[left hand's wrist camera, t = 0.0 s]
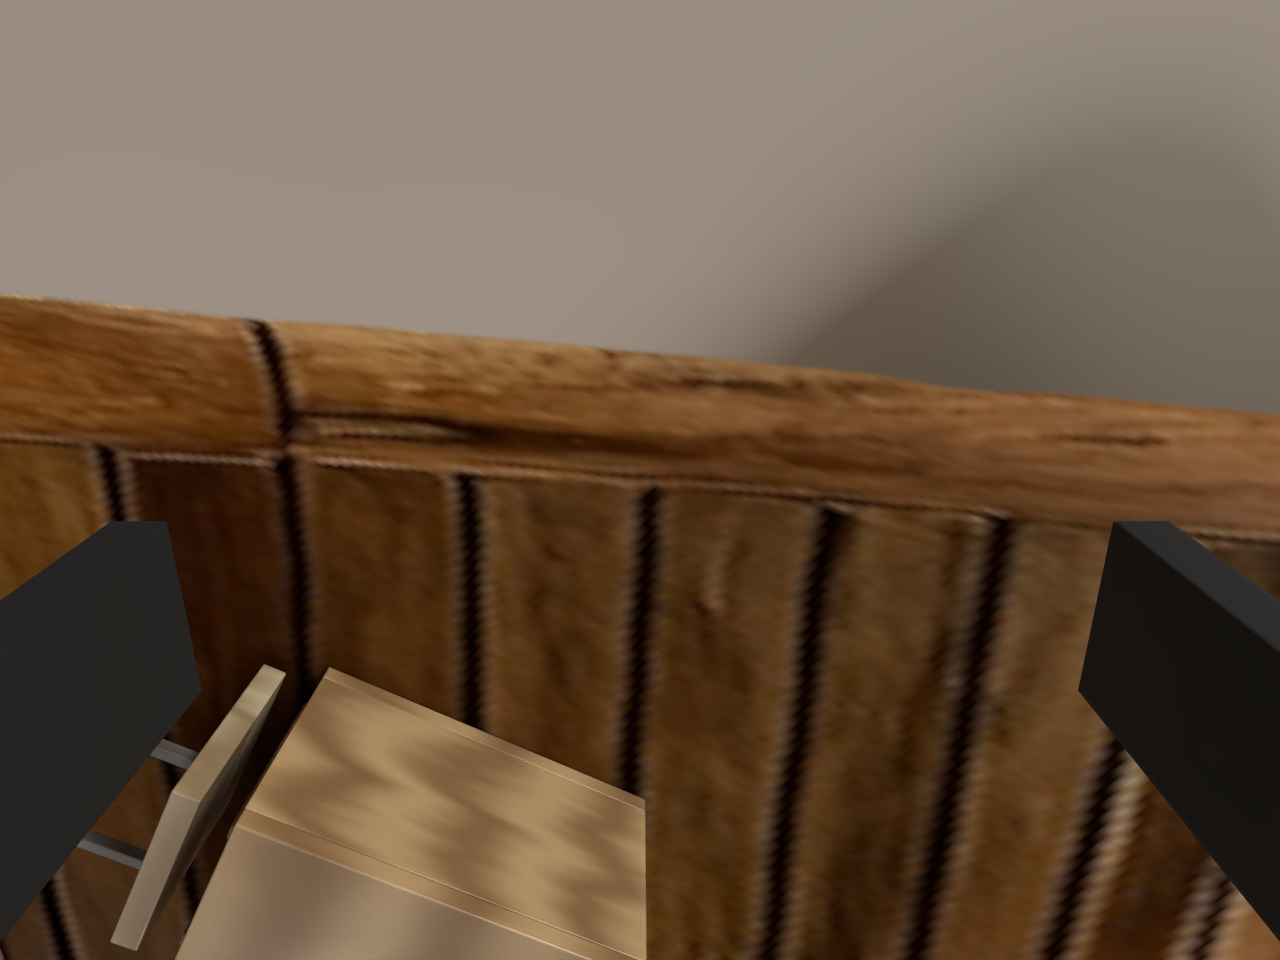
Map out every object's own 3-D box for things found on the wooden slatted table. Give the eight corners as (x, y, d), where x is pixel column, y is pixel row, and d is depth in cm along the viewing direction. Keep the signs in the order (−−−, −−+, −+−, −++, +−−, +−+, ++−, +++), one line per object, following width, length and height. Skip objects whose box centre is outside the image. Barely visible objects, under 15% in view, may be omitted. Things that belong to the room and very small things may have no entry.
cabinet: (263, 809, 49) (158, 994, 38) (329, 666, 45) (234, 824, 35) (563, 925, 52) (543, 1126, 41) (645, 799, 48) (646, 981, 38)
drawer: (99, 753, 46) (-27, 895, 37) (150, 615, 43) (25, 735, 34) (500, 907, 50) (470, 1069, 41) (571, 790, 47) (555, 938, 38)
